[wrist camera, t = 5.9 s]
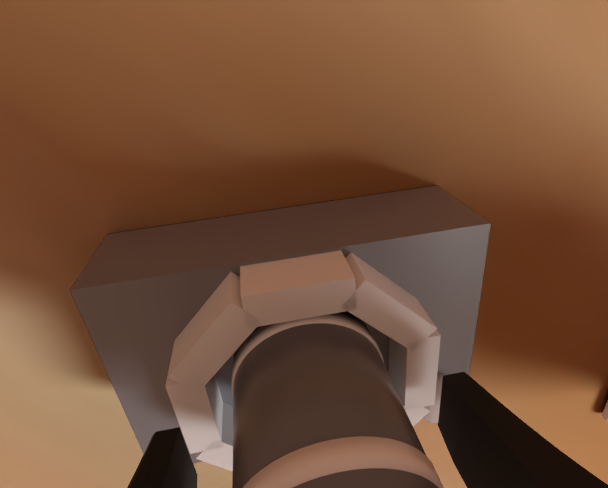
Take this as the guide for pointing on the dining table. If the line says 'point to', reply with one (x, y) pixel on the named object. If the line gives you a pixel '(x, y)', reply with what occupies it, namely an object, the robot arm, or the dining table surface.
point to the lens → (321, 411)
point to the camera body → (281, 301)
